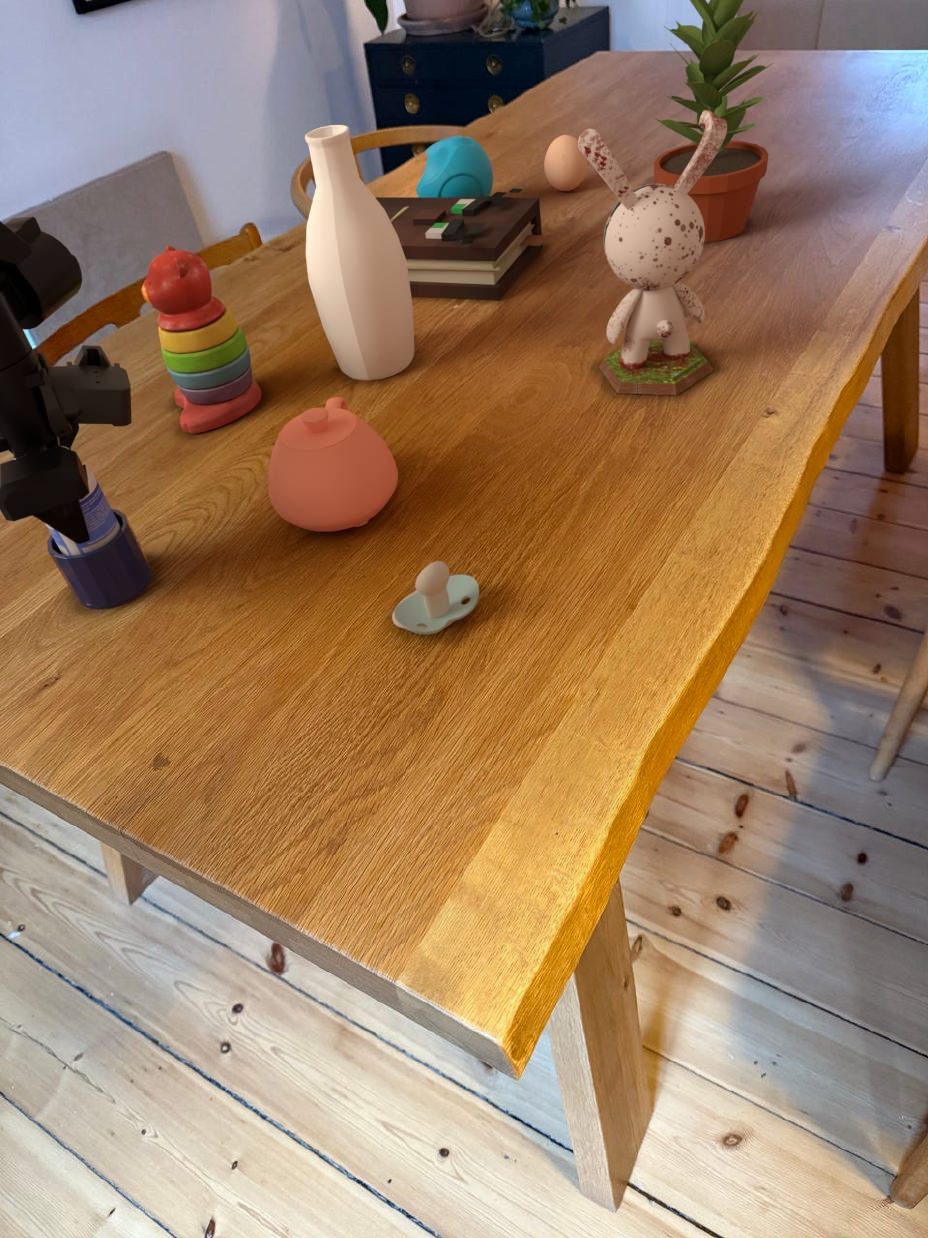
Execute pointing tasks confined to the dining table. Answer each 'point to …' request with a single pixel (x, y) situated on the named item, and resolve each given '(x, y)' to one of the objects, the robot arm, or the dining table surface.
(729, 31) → the potted plant
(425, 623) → the pacifier
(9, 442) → the robot arm
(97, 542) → the pill bottle
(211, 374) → the stacking bear
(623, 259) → the figurine
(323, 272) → the bottle
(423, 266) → the decorative book
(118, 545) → the dark blue cup
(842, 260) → the dining table surface
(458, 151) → the blue rounded dome
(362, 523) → the sugar bowl
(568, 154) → the egg
